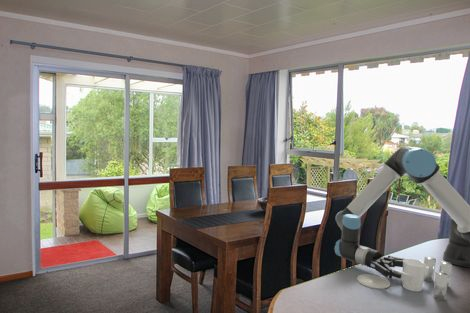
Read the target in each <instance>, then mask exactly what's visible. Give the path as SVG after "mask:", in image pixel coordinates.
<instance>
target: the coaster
mask: <svg viewBox="0 0 470 313" xmlns="http://www.w3.org/2000/svg"><path fill="white" fill-rule="evenodd" d="M356 281H357V282H358V283H359V284H360V285H362V286H364V287H367V288H371V289H377V290H380V289H381V290H383V289H388V288H390V287H391V281H390V280H389V279H387V278H386V277H385V278H384V276H383V277H382V276H380V275H375V274H369V273H367V274H360V275H358V276H357V280H356Z"/></svg>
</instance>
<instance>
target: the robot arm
mask: <svg viewBox="0 0 470 313" xmlns="http://www.w3.org/2000/svg"><path fill="white" fill-rule="evenodd" d="M440 169H441V166H440V165H439V164H438V163H437V160H436V158H435V155H434V154H433V153H432V152H431V151H430V150H428V149H426V148H424V147H417V146H412V145H410V146H409V145H405V146H402V147H400V148H398V149H397V150H396V151H394V153H393V154H392V155H390V157H388V159H387V160H386V161H385V162H384V163H383V167H382V168H381V170H380V171H379V172H378V173H377V174H376V175H375V176H374V177H373V178H372V179H371V181H369V183H368V184H367V185H366V186H365V187H363V189H362V190H361V191H360V192H359V193H358V195H356V197H354V199H352V201H351V202H350V203H349V204H348V205H347V206H346V207H345V208H344V209H343V210H340V211H339V212H337V214H336V215H335V223H336V225H337V226H338V227H339V228H340V231H341V236H340V237H341V238H340V239H338V240H337V241H336V242H335V246H334V252H335V254H336V256H339V257H341V258H342V259H344V260H348V261H352V262H354V263H357V264H360V266H362V267H363V266H365V267H367V268H370V269H373V270H375V271H377V272H378V273H379V274H381V275H382V276H383V277H385V278H388V279H393V278H396V279H398V280H400V281H402V282H403V281H406V282H409V283H411V275H409V274H406V273H404V272H403V271H400V270H397V269H395V267H397V268H403V260H404V259H405V258H403V257H396V256H392V255H387V256H383V255H382V252H381V251H379V250H376V249H373V248H370V247H368V246H364V245H361V244H360V235H361V225H362V223H361V217H362V216H363V215H364V214H365V213H366V212H367V211H368V209H370V207H371V206H372V205H374V203H375V202H376V201H377V200H378V199H379V198H380V197H381V196H382V195H383V194H384V193H385V192H386V191H387V190H388V189H389V188H390V187H391V186H392V184H393V183H394V182H395V181H396V180H397V179H401V178H402V177H403V176H405V174H407V176H408V177H409V178H410V179H411V180H412V181H413V182H414V184H416V185H422V187H423V188H424V189H425V190H426V191H427V192H428V194H430V195H431V197H432V198H433V199H434V200H435V201H436V202H437V203H438V204H439V205H440V207H441V208H442V209H443V210H444V211H445V212H446V213H447V214H448V216H449V217H450V226H449V227H450V228H449V236H448V244H447V246H446V248H445V251H443V255H442V259H443V260H444V261H445V262H449V263H451V264H452V265H455V266H458V267H465V268H470V205H469V203H468V202H467V200H465V199H464V197H463V196H462V195H461V194H460V192H458V190H456V189H455V188H454V187H453V186H452V185H451V183H450V181H448V180H447V178H445V177H444V176H443V175H442V173H441V172H440V171H441V170H440ZM392 268H394V269H392ZM425 274H427V275H428V274H429V267H426V268H425Z"/></svg>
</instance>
